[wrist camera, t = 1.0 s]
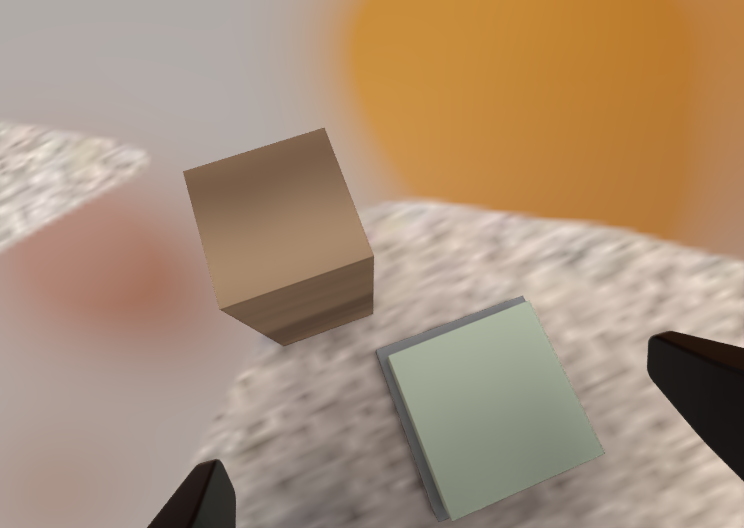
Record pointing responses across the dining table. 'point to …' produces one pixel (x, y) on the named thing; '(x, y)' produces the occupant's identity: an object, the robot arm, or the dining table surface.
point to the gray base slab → (399, 403)
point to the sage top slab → (492, 409)
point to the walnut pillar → (283, 238)
